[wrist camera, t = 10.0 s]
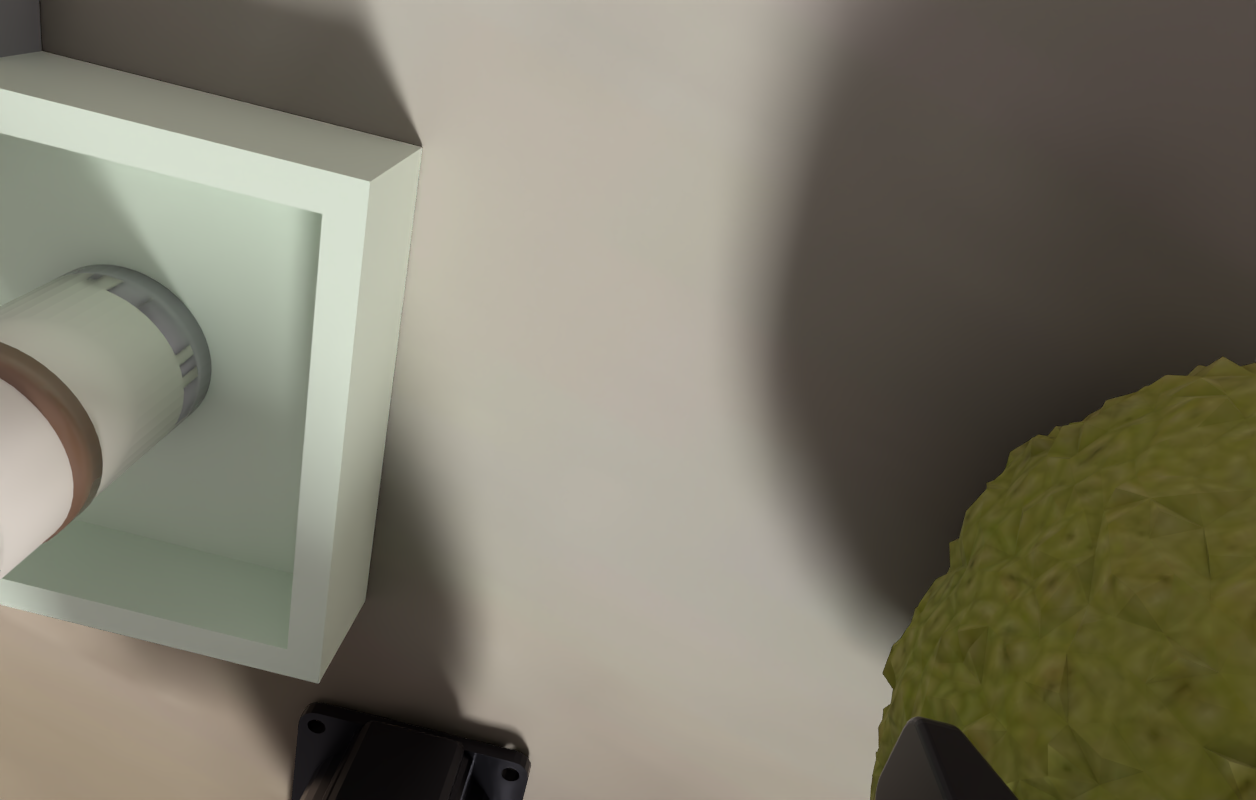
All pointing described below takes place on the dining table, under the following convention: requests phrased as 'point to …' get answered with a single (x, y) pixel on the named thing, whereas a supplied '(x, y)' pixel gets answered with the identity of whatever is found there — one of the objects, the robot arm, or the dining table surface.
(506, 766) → the robot arm
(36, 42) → the holder
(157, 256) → the tray
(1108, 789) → the fruit
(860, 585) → the dining table surface
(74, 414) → the cylinder
